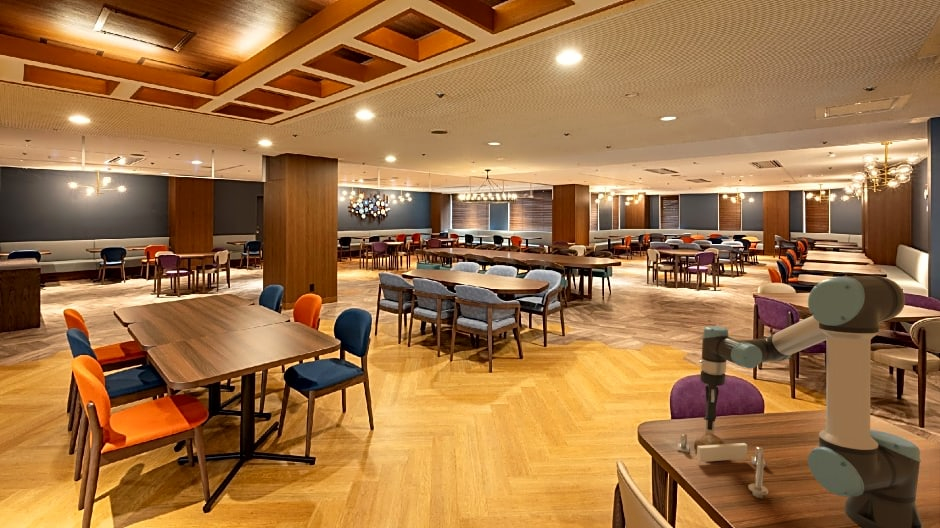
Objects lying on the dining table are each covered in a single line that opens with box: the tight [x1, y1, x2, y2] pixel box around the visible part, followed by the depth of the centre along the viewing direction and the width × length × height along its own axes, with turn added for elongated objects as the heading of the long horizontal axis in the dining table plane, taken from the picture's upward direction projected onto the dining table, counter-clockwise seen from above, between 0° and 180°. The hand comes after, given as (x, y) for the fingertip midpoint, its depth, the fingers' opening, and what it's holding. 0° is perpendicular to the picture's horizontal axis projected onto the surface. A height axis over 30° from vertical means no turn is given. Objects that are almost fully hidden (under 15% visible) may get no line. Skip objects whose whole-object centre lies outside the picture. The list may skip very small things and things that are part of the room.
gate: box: [696, 442, 748, 463], centre depth 151 cm, size 2×17×5 cm, turn 98°
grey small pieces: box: [677, 433, 767, 468], centre depth 156 cm, size 4×26×5 cm, turn 66°
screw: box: [747, 452, 769, 499], centre depth 133 cm, size 13×5×5 cm
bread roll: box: [693, 434, 726, 453], centre depth 157 cm, size 10×10×8 cm
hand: (708, 436), depth 163 cm, fingers closed
